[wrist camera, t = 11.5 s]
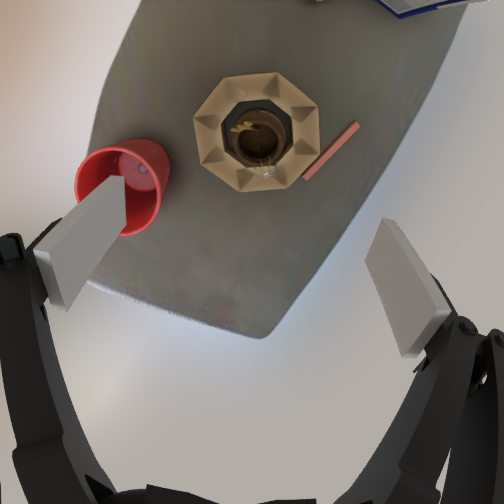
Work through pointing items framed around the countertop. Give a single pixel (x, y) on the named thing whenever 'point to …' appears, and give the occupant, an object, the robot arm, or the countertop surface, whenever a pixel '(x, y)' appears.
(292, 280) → the countertop surface
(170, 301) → the countertop surface
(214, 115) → the octagonal ring
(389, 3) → the milk carton
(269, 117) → the utensil holder
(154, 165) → the flower pot
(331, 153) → the pink stick
